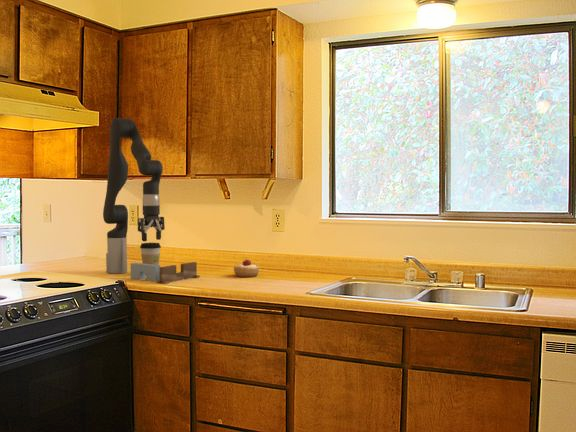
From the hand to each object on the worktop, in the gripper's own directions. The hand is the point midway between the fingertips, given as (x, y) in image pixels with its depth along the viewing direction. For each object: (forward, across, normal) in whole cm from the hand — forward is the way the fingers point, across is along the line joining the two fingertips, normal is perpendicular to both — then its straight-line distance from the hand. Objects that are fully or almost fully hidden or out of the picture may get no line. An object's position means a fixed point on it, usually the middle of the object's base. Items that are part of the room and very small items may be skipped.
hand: (151, 240), depth 280 cm
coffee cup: (+18, -12, -13) cm, 25 cm away
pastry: (+18, -34, +28) cm, 48 cm away
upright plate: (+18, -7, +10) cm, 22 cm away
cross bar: (+18, 0, -4) cm, 19 cm away
